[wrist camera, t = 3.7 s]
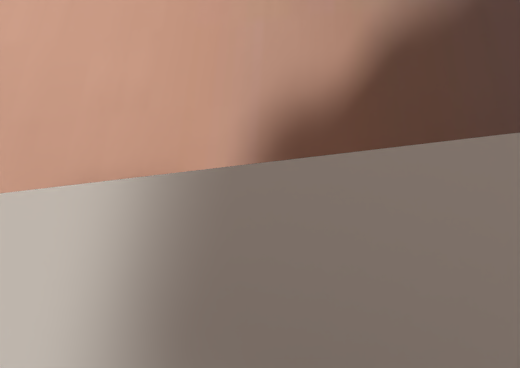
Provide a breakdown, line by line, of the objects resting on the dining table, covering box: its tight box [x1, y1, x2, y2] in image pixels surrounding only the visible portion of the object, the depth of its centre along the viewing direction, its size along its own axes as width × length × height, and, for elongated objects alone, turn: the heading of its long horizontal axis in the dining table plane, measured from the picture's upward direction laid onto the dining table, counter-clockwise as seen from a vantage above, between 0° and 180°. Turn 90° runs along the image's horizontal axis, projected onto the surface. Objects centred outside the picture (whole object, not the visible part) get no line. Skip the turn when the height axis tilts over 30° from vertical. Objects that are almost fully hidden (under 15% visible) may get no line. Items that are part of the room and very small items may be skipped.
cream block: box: [0, 133, 520, 368], centre depth 9 cm, size 5×5×13 cm
